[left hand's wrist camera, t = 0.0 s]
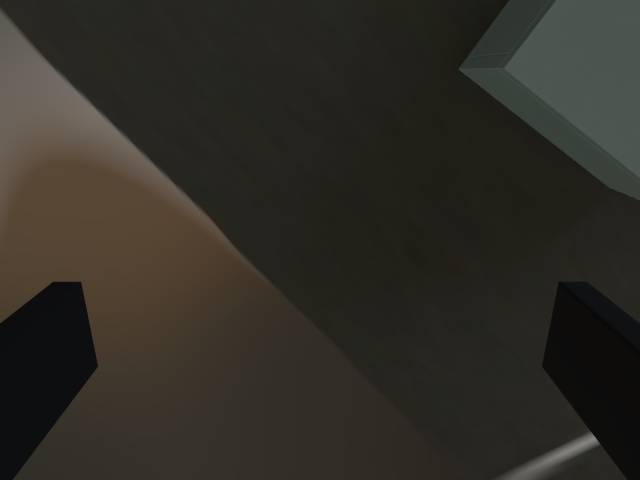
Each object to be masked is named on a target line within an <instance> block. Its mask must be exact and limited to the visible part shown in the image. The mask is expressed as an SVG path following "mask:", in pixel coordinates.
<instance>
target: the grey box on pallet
mask: <svg viewBox="0 0 640 480" xmlns="http://www.w3.org/2000/svg"><path fill="white" fill-rule="evenodd" d="M459 70H460V71H461V72H462V73H464V74H465V75H466V76H467V77H469V78H470V79H471V80H473V81H474V82H475V83H476V84H478V85H479V86H480V87H481V88H483V89H484V90H485V91H487V92H488V93H489V94H490V95H492V96H493V97H494V98H496V99H497V100H498V101H499V102H501V103H502V104H503V105H504V106H506V107H507V108H508V109H510V110H511V111H512V112H513V113H515V114H516V115H517V116H518V117H520V118H521V119H522V120H524V121H525V122H526V123H527V124H529V125H530V126H531V127H532V128H534V129H535V130H536V131H538V132H539V133H540V134H541V135H543V136H544V137H545V138H546V139H548V140H549V141H550V142H552V143H553V144H554V145H555V146H557V147H558V148H559V149H561V150H562V151H563V152H564V153H566V154H567V155H568V156H569V157H571V158H572V159H573V160H575V161H576V162H577V163H578V164H580V165H581V166H582V167H583V168H585V169H586V170H587V171H589V172H590V173H591V174H592V175H594V176H595V177H596V178H597V179H599V180H600V181H601V182H603V183H604V184H605V185H606V186H608V187H609V188H611V189H614V190H616V191H619V192H621V193H624V194H626V195H629V196H631V197H634V198H636V199H639V200H640V0H509V1H508V2H507V4H506V5H505V6H504V8H503V9H502V11H501V12H500V13H499V15H498V16H497V17H496V19H495V20H494V21H493V23H492V24H491V25H490V27H489V28H488V30H487V31H486V32H485V34H484V35H483V36H482V38H481V39H480V40H479V42H478V43H477V44H476V46H475V47H474V49H473V50H472V51H471V53H470V54H469V55H468V57H467V58H466V59H465V61H464V62H463V63H462V65H461V66H460V67H459Z"/></svg>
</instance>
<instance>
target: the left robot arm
mask: <svg viewBox="0 0 640 480" xmlns="http://www.w3.org/2000/svg"><path fill="white" fill-rule="evenodd" d="M97 367H98V364H97V359H96V354H95V349H94V344H93V339H92V334H91V329H90V324H89V319H88V314H87V309H86V304H85V299H84V294H83V289H82V284H81V282H52V283H51V284H50V285H49V286H47V287H46V288H45V289H44V290H42V291H41V292H40V293H38V294H37V295H36V296H35V297H33V298H32V299H31V300H30V301H28V302H27V303H26V304H25V305H23V306H22V307H21V308H19V309H18V310H17V311H16V312H14V313H13V314H12V315H10V316H9V317H8V318H7V319H5V320H4V321H3V322H2V323H0V480H13V478H14V477H15V476H16V474H17V473H18V472H19V470H20V469H21V468H22V467H23V465H24V464H25V463H26V461H27V460H28V459H29V457H30V456H31V455H32V453H33V452H34V451H35V449H36V448H37V447H38V445H39V444H40V443H41V441H42V440H43V439H44V437H45V436H46V435H47V433H48V432H49V431H50V429H51V428H52V427H53V425H54V424H55V423H56V421H57V420H58V419H59V417H60V416H61V415H62V413H63V412H64V411H65V410H66V408H67V407H68V406H69V404H70V403H71V401H72V400H73V399H74V398H75V396H76V395H77V394H78V392H79V391H80V390H81V388H82V387H83V386H84V384H85V383H86V382H87V380H88V379H89V378H90V376H91V375H92V374H93V372H94V371H95V370H96V368H97ZM542 367H543V368H544V370H545V371H546V372H547V374H548V375H549V376H550V378H551V379H552V380H553V382H554V383H555V384H556V386H557V387H558V388H559V390H560V391H561V392H562V394H563V395H564V396H565V398H566V399H567V400H568V402H569V403H570V404H571V406H572V407H573V408H574V410H575V411H576V412H577V414H578V415H579V416H580V417H581V419H582V420H583V421H584V423H585V424H586V425H587V427H588V428H589V429H590V431H591V432H592V433H593V435H594V436H595V437H596V439H597V440H598V441H599V443H600V444H601V445H602V447H603V448H604V449H605V451H606V452H607V453H608V455H609V456H610V457H611V459H612V460H613V461H614V463H615V464H616V465H617V467H618V468H619V469H620V471H621V472H622V473H623V475H624V476H625V477H626V479H627V480H640V323H638V322H637V321H636V320H635V319H633V318H632V317H631V316H630V315H628V314H627V313H626V312H624V311H623V310H622V309H621V308H619V307H618V306H617V305H616V304H614V303H613V302H612V301H610V300H609V299H608V298H607V297H605V296H604V295H603V294H602V293H600V292H599V291H598V290H596V289H595V288H594V287H593V286H591V285H590V284H589V283H588V282H559V284H558V289H557V294H556V299H555V304H554V309H553V314H552V319H551V324H550V329H549V334H548V339H547V344H546V349H545V354H544V359H543V364H542Z"/></svg>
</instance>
